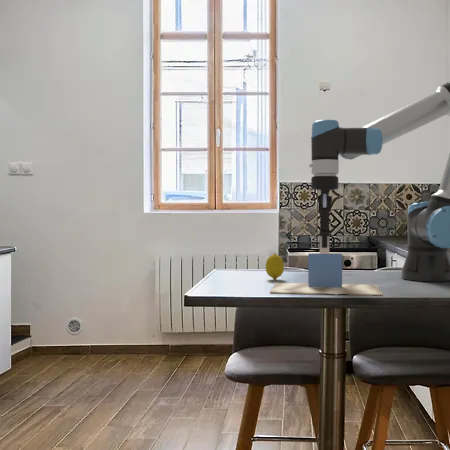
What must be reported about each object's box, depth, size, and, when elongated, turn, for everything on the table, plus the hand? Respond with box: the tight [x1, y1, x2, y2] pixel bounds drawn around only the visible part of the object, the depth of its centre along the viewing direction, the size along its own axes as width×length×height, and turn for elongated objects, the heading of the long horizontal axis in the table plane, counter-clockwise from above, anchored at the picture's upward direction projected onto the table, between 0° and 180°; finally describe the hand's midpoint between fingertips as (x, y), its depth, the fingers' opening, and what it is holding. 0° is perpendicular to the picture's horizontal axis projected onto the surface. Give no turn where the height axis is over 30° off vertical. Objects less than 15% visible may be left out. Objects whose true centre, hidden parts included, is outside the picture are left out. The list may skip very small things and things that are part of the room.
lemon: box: [265, 253, 285, 280], centre depth 179 cm, size 6×6×8 cm
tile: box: [307, 252, 343, 287], centre depth 159 cm, size 9×2×9 cm, turn 81°
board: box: [269, 282, 384, 297], centre depth 157 cm, size 28×18×1 cm, turn 81°
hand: (324, 259), depth 166 cm, fingers closed
